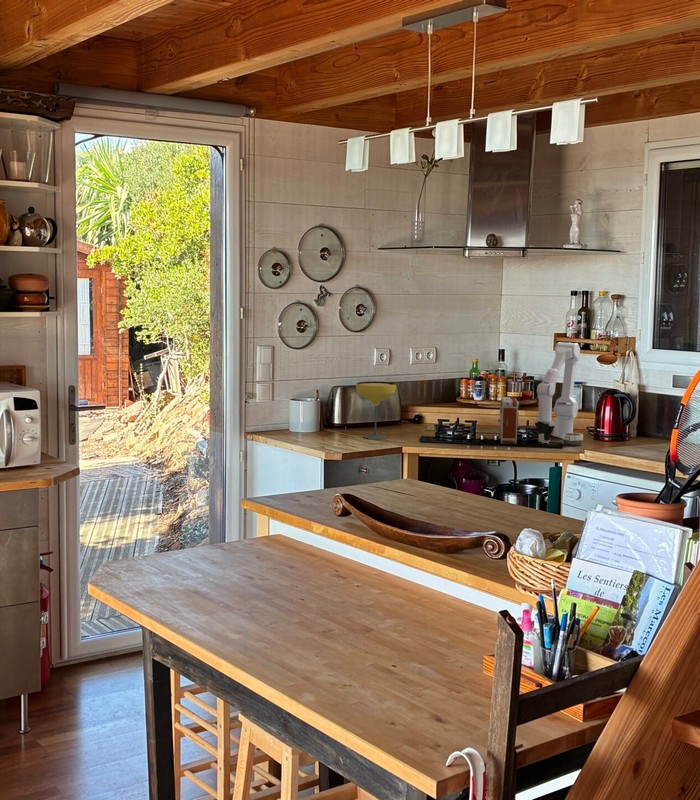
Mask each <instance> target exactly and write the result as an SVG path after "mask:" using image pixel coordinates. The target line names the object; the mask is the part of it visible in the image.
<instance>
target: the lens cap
mask: <svg viewBox="0 0 700 800" xmlns="http://www.w3.org/2000/svg"><path fill="white" fill-rule="evenodd" d="M550 441H551V438H550V439H549V441H545V440H544V434H539V436H538V442H541V443H540V444H544V443H547V444H550V443H549V442H550Z"/></svg>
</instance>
